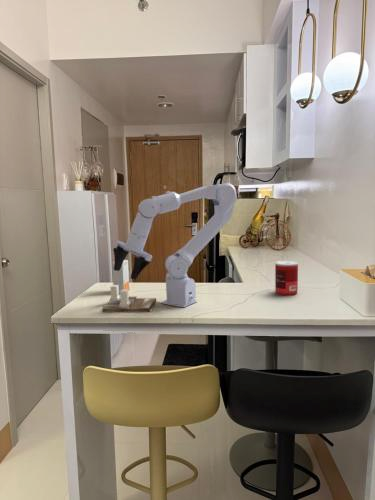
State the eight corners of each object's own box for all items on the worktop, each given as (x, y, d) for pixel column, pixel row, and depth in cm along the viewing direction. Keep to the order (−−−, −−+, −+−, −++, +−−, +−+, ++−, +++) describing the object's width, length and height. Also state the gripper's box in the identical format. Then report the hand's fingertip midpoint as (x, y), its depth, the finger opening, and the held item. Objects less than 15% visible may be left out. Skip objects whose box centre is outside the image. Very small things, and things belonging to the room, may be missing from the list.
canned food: (299, 290, 133) (299, 261, 132) (295, 296, 126) (296, 265, 125) (277, 289, 137) (277, 260, 135) (273, 294, 129) (273, 264, 128)
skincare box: (124, 294, 136) (122, 262, 134) (113, 294, 137) (111, 262, 135) (130, 290, 142) (128, 259, 140) (119, 290, 143) (117, 259, 141)
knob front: (130, 303, 119) (129, 289, 118) (128, 306, 116) (127, 291, 115) (121, 303, 119) (121, 289, 118) (119, 306, 116) (118, 291, 115)
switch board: (156, 301, 126) (156, 295, 126) (149, 311, 114) (149, 306, 114) (113, 301, 127) (113, 296, 127) (102, 312, 115) (102, 306, 115)
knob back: (120, 298, 125) (119, 284, 125) (118, 300, 123) (117, 286, 122) (112, 298, 126) (111, 284, 125) (110, 300, 123) (109, 286, 122)
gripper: (114, 226, 118) (100, 265, 119) (148, 240, 111) (133, 282, 112) (128, 229, 124) (115, 267, 125) (161, 243, 117) (146, 283, 118)
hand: (124, 274), depth 119 cm, fingers open, 7 cm apart
